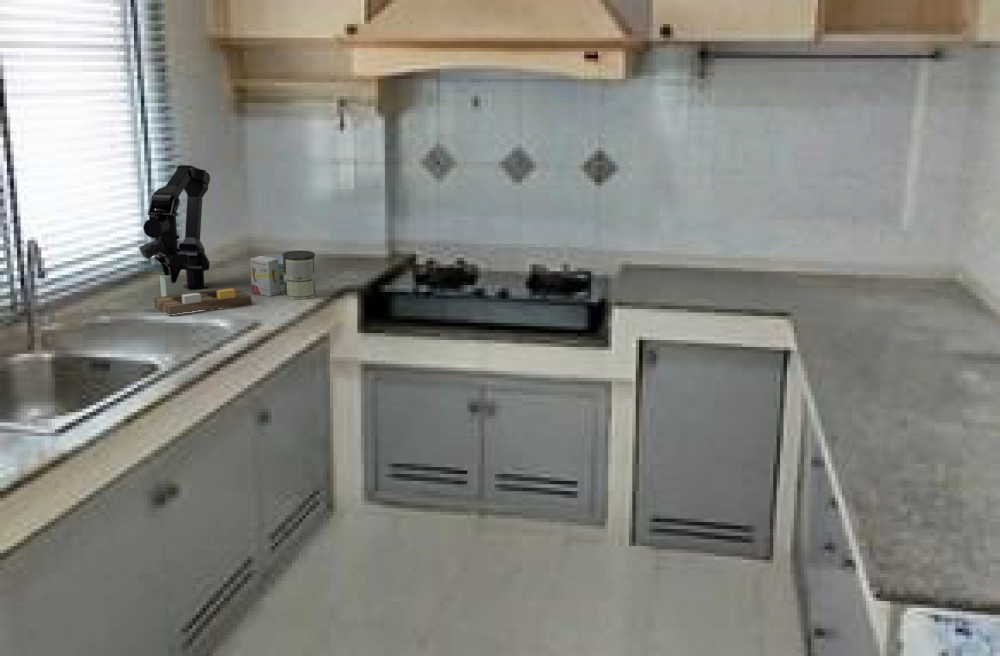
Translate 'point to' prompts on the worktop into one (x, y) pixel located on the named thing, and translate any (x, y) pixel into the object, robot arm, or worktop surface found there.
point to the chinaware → (281, 271)
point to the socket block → (203, 300)
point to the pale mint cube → (170, 286)
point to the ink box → (265, 275)
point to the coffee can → (299, 274)
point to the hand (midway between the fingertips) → (170, 281)
